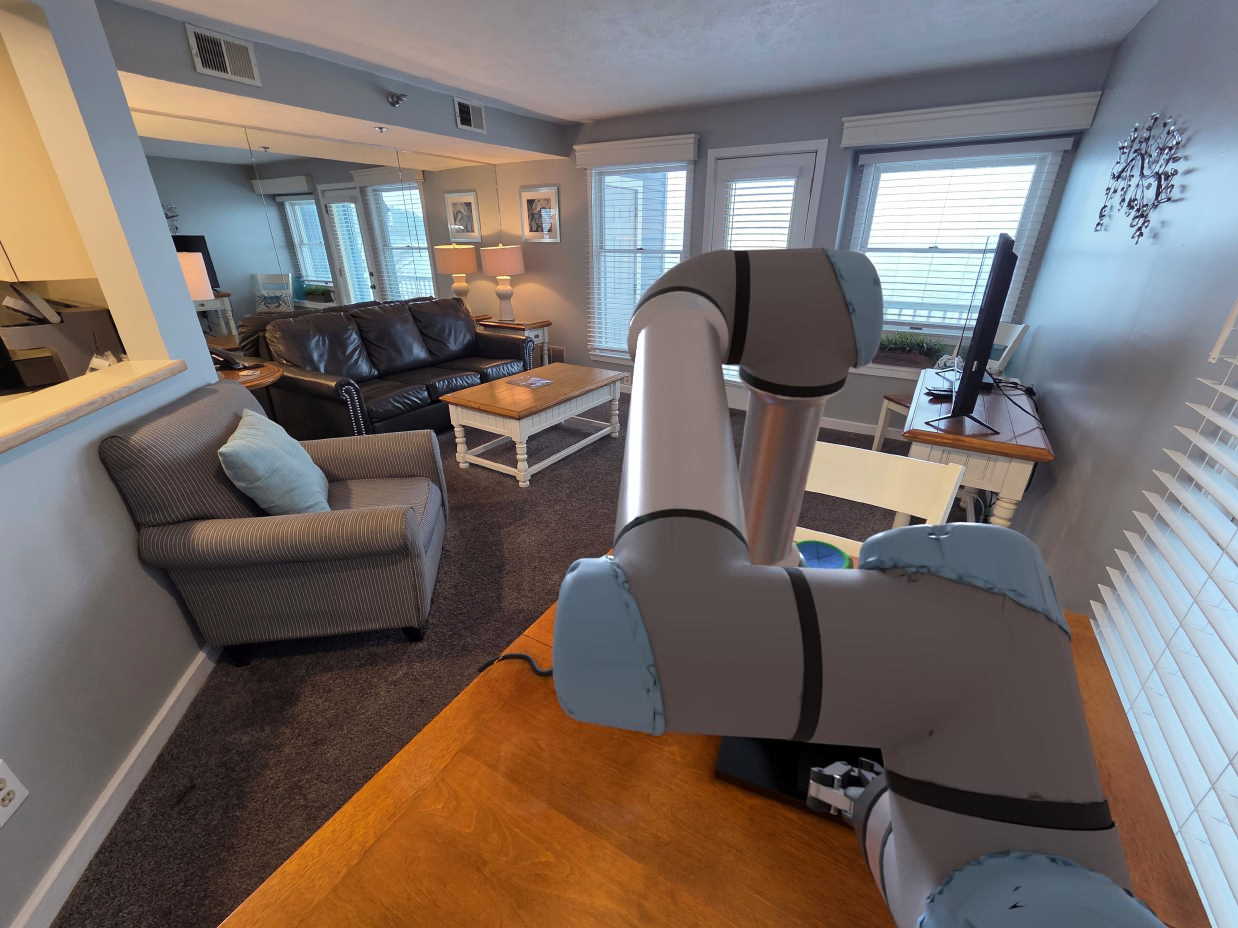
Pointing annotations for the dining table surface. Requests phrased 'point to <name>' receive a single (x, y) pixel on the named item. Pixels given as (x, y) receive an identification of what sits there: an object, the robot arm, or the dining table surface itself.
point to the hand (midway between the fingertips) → (866, 775)
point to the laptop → (784, 767)
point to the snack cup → (824, 555)
